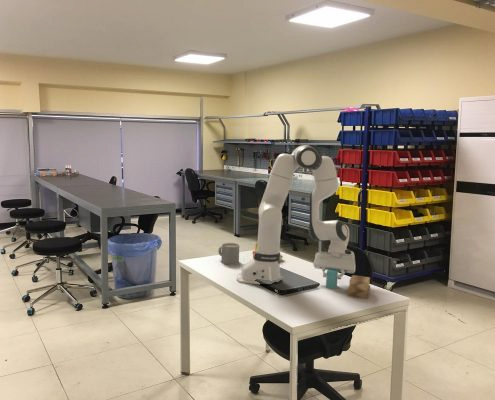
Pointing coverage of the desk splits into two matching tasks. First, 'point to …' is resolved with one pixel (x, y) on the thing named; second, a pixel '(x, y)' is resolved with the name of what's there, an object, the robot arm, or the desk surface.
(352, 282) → the oak top block
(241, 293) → the desk surface
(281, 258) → the plastic component
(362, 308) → the desk surface
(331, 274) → the teal pillar
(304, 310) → the desk surface
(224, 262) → the coffee mug
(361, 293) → the walnut base block
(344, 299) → the desk surface
